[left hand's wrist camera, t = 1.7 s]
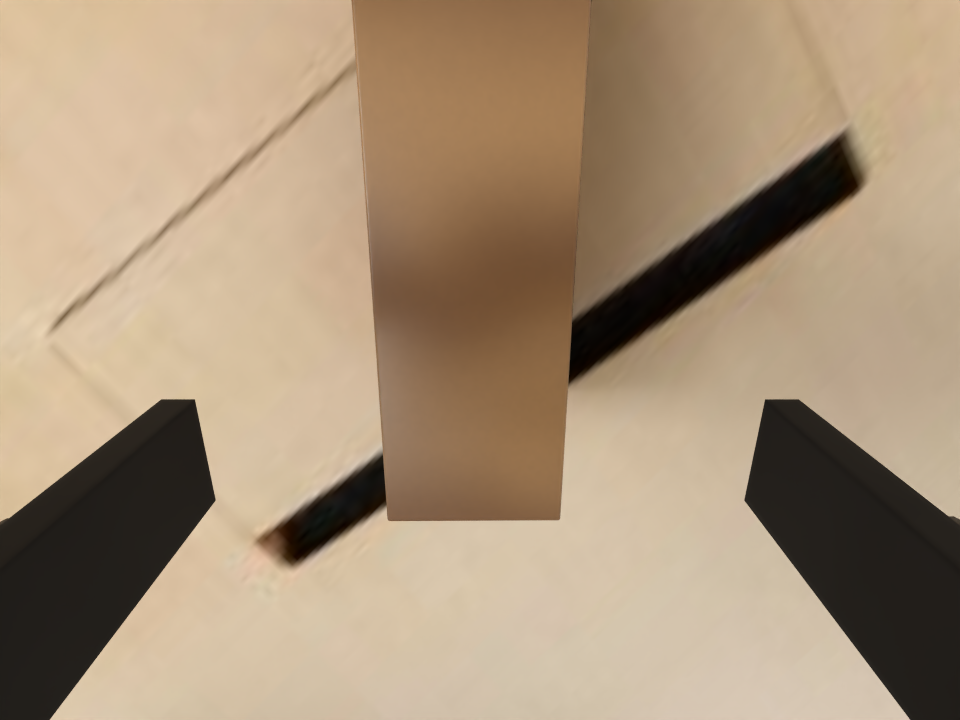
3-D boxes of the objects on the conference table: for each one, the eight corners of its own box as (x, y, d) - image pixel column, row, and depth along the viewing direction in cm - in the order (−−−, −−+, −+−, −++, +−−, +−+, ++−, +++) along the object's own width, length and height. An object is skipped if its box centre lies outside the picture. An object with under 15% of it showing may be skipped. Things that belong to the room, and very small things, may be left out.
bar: (530, 393, 25) (560, 521, 16) (418, 394, 25) (387, 521, 16) (562, -507, 15) (675, -1391, 7) (380, -509, 15) (254, -1401, 7)
